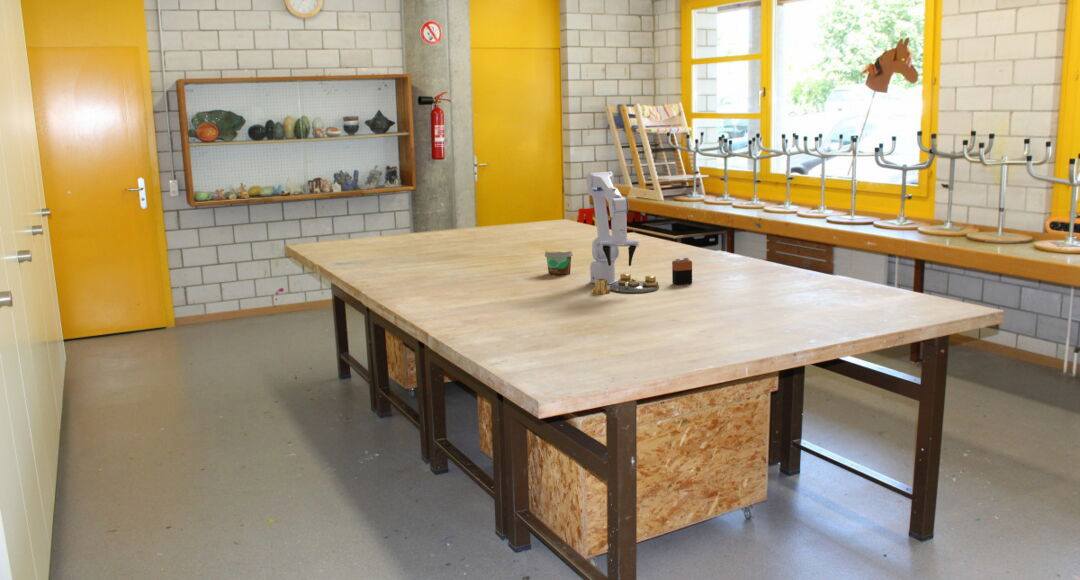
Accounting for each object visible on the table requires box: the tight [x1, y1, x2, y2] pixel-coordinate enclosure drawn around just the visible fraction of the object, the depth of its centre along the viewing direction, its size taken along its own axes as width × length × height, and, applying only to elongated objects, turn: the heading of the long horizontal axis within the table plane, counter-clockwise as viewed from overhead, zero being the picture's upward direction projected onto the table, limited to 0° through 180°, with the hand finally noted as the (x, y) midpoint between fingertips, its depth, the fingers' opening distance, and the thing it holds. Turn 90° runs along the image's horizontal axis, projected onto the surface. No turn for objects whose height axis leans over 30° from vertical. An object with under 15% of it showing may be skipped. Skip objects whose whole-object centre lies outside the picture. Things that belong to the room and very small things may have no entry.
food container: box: [544, 250, 573, 277], centre depth 377 cm, size 12×6×10 cm, turn 68°
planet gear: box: [592, 279, 611, 295], centre depth 339 cm, size 7×7×5 cm
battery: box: [671, 257, 693, 286], centre depth 349 cm, size 4×7×10 cm, turn 104°
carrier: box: [609, 273, 660, 295], centre depth 344 cm, size 19×19×4 cm
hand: (619, 265), depth 338 cm, fingers open, 7 cm apart
